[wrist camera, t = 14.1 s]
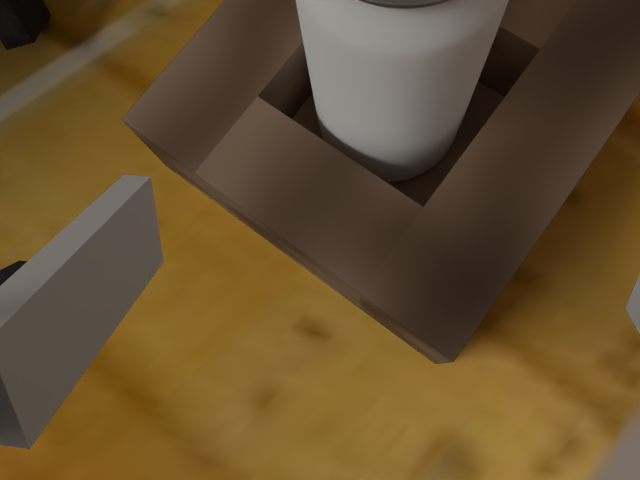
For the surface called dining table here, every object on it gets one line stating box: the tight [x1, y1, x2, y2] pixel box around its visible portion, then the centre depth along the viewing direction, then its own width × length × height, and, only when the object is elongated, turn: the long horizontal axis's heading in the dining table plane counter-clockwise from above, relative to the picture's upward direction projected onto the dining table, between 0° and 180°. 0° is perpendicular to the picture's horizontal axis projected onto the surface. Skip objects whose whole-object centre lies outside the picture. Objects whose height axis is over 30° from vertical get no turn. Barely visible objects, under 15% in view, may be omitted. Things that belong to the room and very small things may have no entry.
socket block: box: [122, 0, 640, 364], centre depth 24 cm, size 16×16×5 cm
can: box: [296, 0, 509, 182], centre depth 19 cm, size 6×6×12 cm
